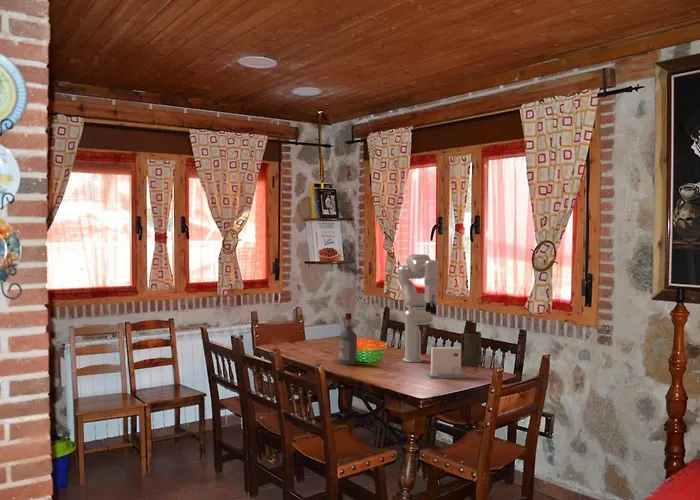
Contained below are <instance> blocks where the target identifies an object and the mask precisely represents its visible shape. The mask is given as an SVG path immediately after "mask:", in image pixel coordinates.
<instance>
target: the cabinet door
mask: <svg viewBox="0 0 700 500" xmlns="http://www.w3.org/2000/svg"><path fill="white" fill-rule="evenodd" d="M435 367H441V372H440V374H454V367H460V374H461V372H462V370H461V369H462V349H461V346H459V347H458V346H457V347H456V346H453V347H452V346H448V347H447V346H445V347H444V346H443V347H442V346H440V347H439V346H437V347H434V346H433V347H432V346H431V347H430V372H431V374H435Z"/></svg>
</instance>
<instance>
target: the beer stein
mask: <svg viewBox="0 0 700 500" xmlns="http://www.w3.org/2000/svg"><path fill="white" fill-rule="evenodd" d="M460 348H461V358H463V364H462V365H464V366H467V367H480V366H482V358H483V357H482V355H483V354H482V348H483V347H482V333H481V332H480V331H474V330H467V331H465V332H463V333H461V338H460Z"/></svg>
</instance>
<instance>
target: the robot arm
mask: <svg viewBox="0 0 700 500" xmlns="http://www.w3.org/2000/svg"><path fill="white" fill-rule="evenodd" d="M411 279H413V280H417V279H419V280H421V279H424V293H423V292H422V293H421V292H420V293H419V292H417V289H416V288H417V287H416V285H415V284H414V283H413V282H412V281H411ZM397 280H398V282H399V285H400V287H401V291H402V297H403V303H404V304H403V305H404V307H406V308H407V310H405V311H404V313H403V320H404V328H405V329H404V331H405V332H404V356H403V357H402V361H403V362H406V363H421V362H423V361H424V360H423V358H422V357H421V344H422V343H421V340H422V339H421V338H422V336H421V335H422V333H421V330H420V329H419V327H418V325H420V326H423V325H430V324H431V323H432V322H433V315H436V314H437V302H438V287H437V286H438V285H439V262H438V261H437V260H434V259H431V258H430V256H429V255H428V254H424V253H423V254H415V253H413V254H410V255H409V256H408V257H407V258H406V264H405V265H401V266H399V267H398V268H397Z"/></svg>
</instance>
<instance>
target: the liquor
mask: <svg viewBox="0 0 700 500" xmlns="http://www.w3.org/2000/svg"><path fill="white" fill-rule="evenodd" d="M352 315H353V314H352V313H351V312H345V316H344V317H345V326H344V327H345V328H344V329H343V331H342V332H341V333H340V335H339V337H338V339H339V341H338V344H339V345H338V346H339V349H338V350H339V351H338V363H339V364H340V365H344V366H352V365H356V364H357V362H358V361H357V356H358V355H357V354H358V351H357V349H358V347H357V346H358V336H357V334H356V333H355V331H354V330H353V327H352V317H353V316H352Z"/></svg>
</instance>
